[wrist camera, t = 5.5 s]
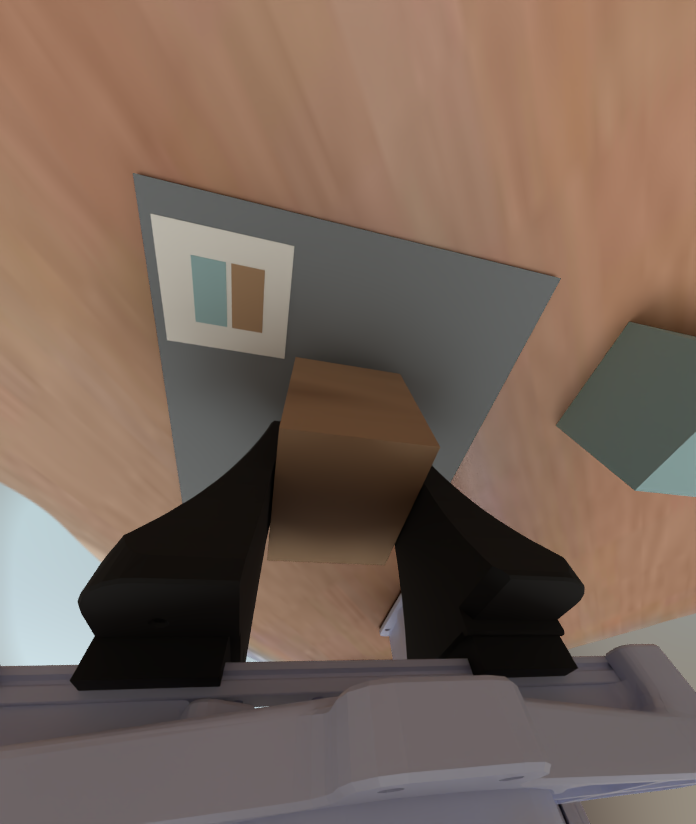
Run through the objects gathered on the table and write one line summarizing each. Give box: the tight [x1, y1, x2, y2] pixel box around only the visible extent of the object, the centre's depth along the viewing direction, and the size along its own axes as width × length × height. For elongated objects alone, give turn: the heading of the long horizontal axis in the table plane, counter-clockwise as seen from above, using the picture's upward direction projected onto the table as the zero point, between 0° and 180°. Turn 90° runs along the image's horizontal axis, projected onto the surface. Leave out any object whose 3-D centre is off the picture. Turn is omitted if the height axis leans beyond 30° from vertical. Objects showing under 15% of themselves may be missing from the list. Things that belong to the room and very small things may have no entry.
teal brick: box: [556, 322, 696, 497], centre depth 13 cm, size 6×4×5 cm
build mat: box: [133, 173, 561, 503], centre depth 14 cm, size 16×16×1 cm
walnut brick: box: [267, 357, 440, 565], centre depth 11 cm, size 6×4×5 cm
